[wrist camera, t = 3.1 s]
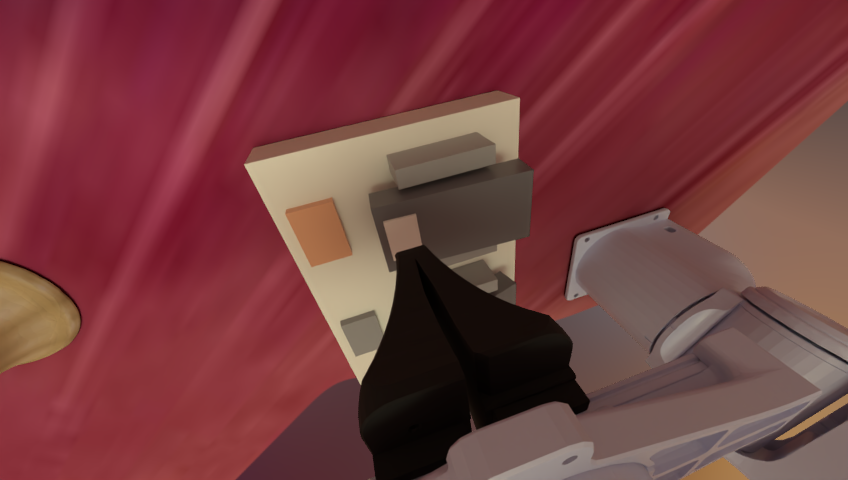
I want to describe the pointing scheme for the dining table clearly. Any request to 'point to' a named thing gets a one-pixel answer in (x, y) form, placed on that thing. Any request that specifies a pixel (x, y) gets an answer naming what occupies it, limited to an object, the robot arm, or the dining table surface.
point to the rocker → (456, 211)
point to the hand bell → (32, 317)
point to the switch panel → (350, 208)
